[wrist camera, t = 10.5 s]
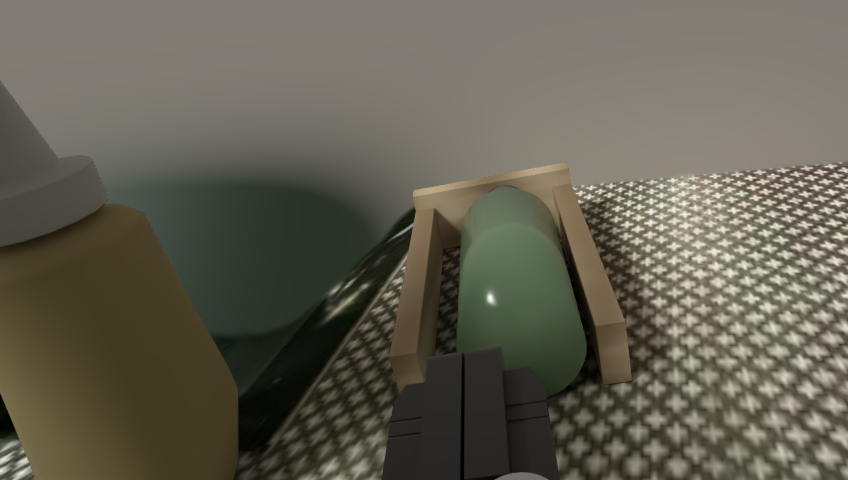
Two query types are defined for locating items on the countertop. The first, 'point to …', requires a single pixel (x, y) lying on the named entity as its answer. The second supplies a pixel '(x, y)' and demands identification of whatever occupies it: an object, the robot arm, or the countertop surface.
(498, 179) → the u rest
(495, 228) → the bottle
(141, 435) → the squeeze bottle
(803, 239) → the countertop surface
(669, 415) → the countertop surface
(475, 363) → the robot arm
